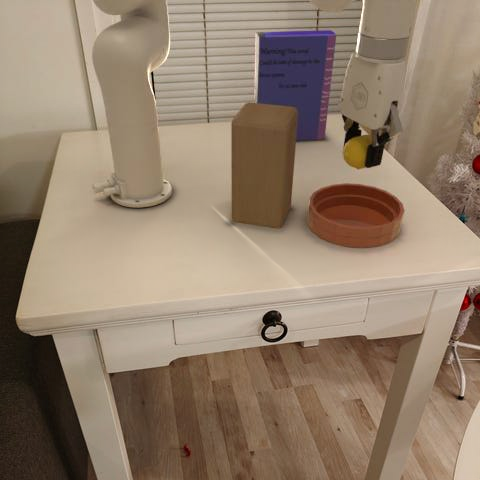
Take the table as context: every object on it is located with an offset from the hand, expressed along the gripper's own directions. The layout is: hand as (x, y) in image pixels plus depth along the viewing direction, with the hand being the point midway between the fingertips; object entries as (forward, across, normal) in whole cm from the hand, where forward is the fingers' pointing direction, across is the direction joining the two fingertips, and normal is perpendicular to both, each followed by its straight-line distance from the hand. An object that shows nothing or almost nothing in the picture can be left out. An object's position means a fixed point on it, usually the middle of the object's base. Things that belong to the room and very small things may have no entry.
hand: (361, 158), depth 94 cm
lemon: (+1, 0, 0) cm, 1 cm away
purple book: (+14, -42, +14) cm, 46 cm away
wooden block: (+14, -12, -13) cm, 22 cm away
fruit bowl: (+13, 0, 0) cm, 13 cm away
